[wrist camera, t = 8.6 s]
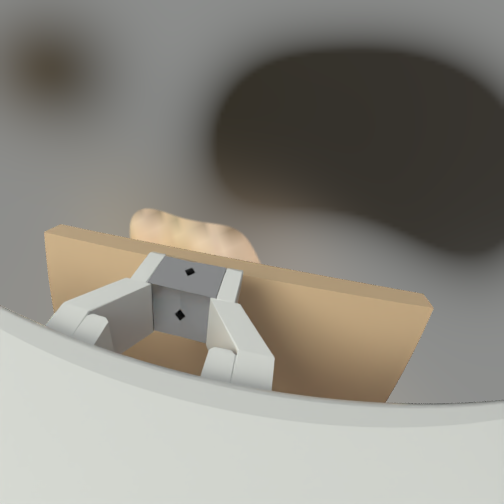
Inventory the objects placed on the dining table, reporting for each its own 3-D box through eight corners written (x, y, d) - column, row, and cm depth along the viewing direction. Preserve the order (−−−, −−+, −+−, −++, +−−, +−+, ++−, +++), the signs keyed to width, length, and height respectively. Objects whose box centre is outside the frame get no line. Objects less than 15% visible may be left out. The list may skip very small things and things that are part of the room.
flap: (340, 448, 16) (421, 292, 12) (342, 465, 14) (433, 308, 10) (87, 392, 16) (62, 223, 12) (77, 405, 15) (44, 232, 11)
